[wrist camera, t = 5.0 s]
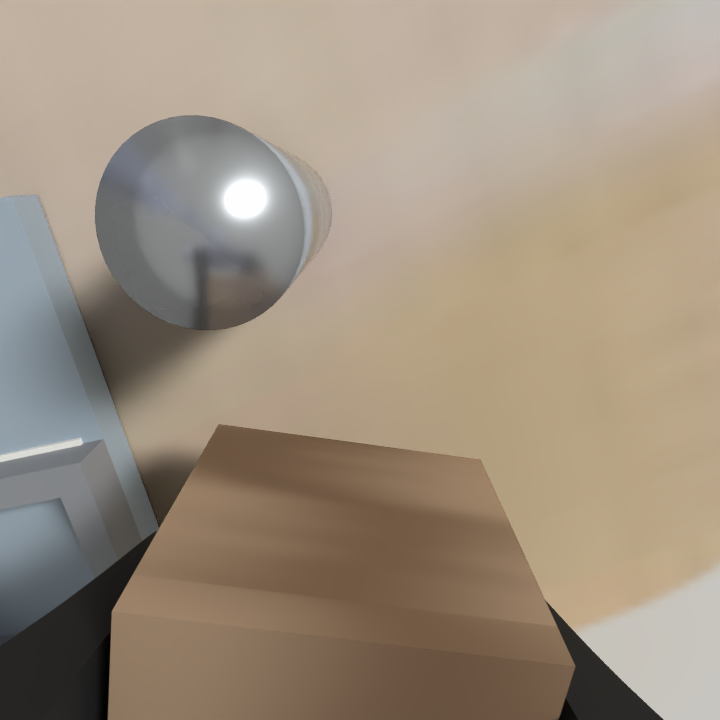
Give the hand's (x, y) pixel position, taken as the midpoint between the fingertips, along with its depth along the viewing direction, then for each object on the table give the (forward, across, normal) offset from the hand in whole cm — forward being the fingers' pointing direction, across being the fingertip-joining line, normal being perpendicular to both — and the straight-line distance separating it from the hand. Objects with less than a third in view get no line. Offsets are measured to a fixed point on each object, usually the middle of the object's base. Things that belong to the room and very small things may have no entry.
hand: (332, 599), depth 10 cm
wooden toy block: (+2, 0, 0) cm, 2 cm away
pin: (+5, +2, -6) cm, 8 cm away
